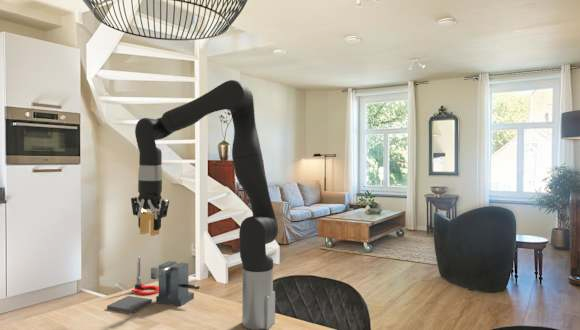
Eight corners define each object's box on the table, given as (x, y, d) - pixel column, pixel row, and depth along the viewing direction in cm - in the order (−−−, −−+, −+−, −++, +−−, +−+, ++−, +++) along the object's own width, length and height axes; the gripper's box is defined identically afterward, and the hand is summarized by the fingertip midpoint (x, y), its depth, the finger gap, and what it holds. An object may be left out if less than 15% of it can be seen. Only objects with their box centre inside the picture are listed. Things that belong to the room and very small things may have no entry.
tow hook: (164, 290, 156) (142, 287, 157) (165, 256, 155) (143, 254, 157) (152, 297, 147) (129, 294, 149) (154, 262, 147) (131, 259, 148)
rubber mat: (151, 302, 141) (151, 299, 141) (131, 313, 131) (131, 309, 131) (128, 299, 144) (128, 295, 144) (107, 309, 135) (107, 305, 135)
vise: (206, 300, 144) (206, 259, 144) (179, 317, 129) (179, 271, 129) (170, 294, 149) (170, 255, 149) (140, 310, 134) (140, 266, 134)
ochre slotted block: (159, 233, 137) (159, 213, 137) (153, 235, 134) (153, 214, 134) (146, 232, 139) (146, 212, 139) (140, 234, 136) (140, 213, 136)
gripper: (175, 179, 137) (174, 229, 138) (140, 177, 142) (139, 225, 143) (161, 180, 130) (160, 233, 131) (124, 178, 135) (124, 229, 136)
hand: (149, 228), depth 137 cm, fingers closed on ochre slotted block, 5 cm apart
